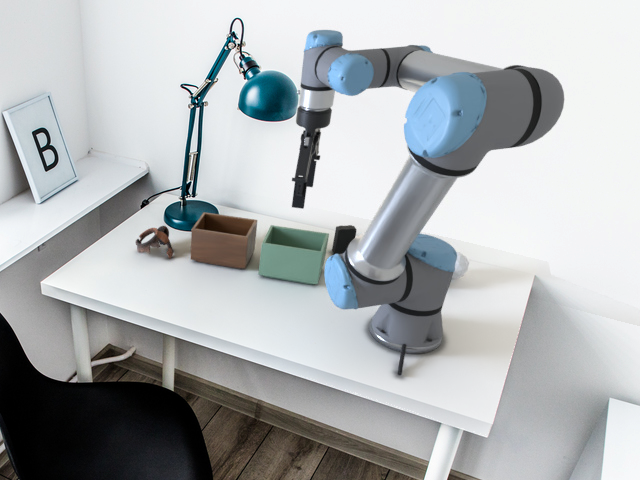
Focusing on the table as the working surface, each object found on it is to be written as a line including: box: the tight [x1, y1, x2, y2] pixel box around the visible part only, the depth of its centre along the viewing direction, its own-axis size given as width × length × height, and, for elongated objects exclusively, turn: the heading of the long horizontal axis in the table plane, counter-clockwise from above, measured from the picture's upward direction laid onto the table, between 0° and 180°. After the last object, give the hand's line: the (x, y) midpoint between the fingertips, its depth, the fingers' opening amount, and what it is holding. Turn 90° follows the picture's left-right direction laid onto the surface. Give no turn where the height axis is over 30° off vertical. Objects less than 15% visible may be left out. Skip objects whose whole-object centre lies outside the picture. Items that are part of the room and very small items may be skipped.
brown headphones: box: [135, 225, 174, 259], centre depth 180 cm, size 12×10×8 cm
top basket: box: [258, 224, 330, 286], centre depth 168 cm, size 11×15×10 cm
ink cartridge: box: [331, 224, 357, 255], centre depth 176 cm, size 5×2×8 cm, turn 93°
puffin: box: [451, 251, 470, 280], centre depth 164 cm, size 7×7×12 cm
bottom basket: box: [190, 211, 258, 270], centre depth 175 cm, size 11×15×10 cm
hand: (302, 196), depth 158 cm, fingers open, 13 cm apart
